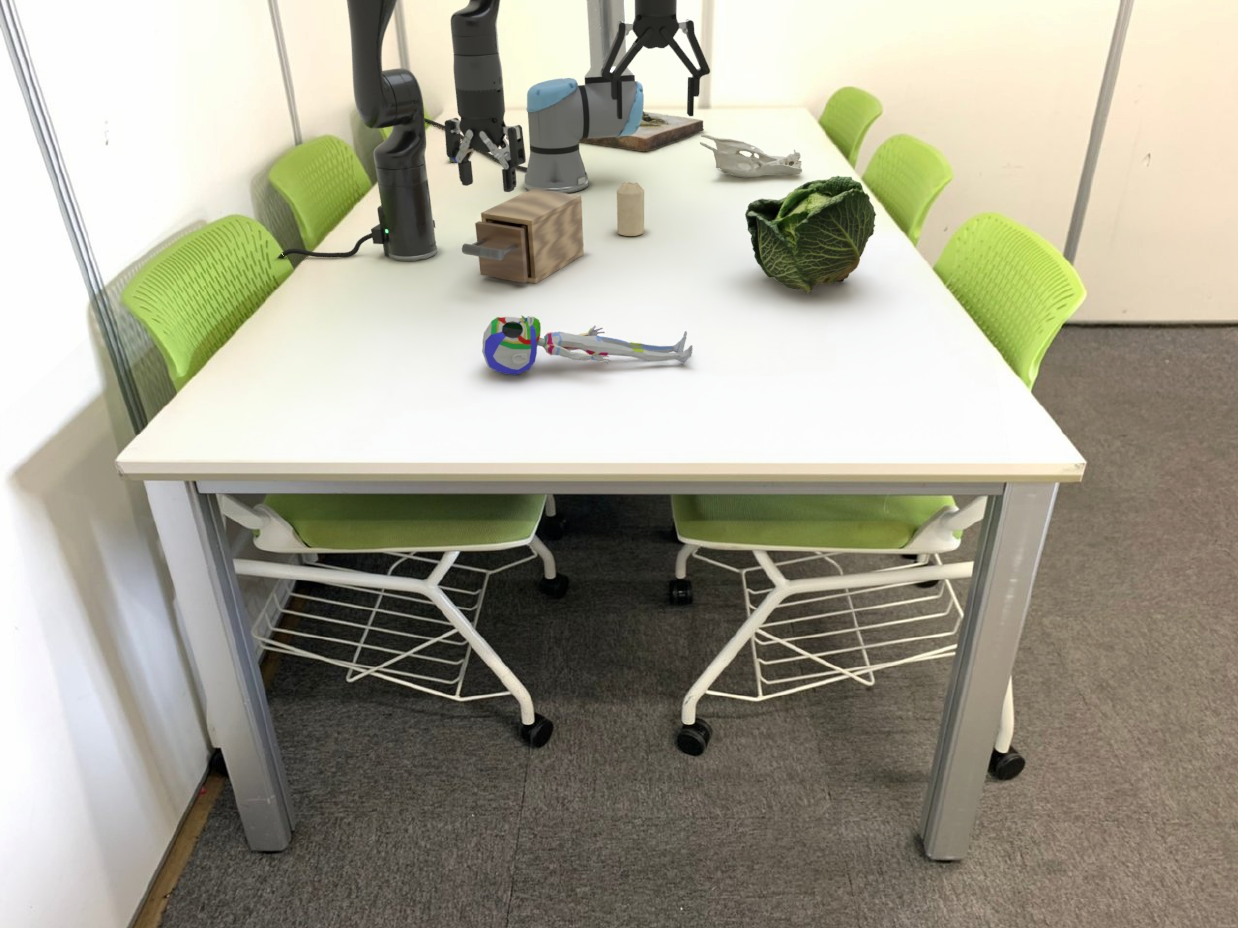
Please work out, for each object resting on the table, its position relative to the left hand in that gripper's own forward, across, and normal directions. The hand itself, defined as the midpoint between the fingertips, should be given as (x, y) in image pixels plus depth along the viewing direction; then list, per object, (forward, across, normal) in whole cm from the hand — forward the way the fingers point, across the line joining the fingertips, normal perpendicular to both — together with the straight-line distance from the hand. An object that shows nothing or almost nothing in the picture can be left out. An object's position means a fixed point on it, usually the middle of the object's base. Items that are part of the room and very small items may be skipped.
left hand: (488, 187), depth 150 cm
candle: (+18, +7, +38) cm, 42 cm away
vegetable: (+18, +48, +26) cm, 58 cm away
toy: (+18, +30, -20) cm, 40 cm away
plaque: (+18, -34, +116) cm, 122 cm away
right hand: (-5, +12, +39) cm, 41 cm away
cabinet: (+18, 0, +13) cm, 22 cm away
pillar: (+18, -66, +78) cm, 104 cm away
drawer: (+17, 0, +7) cm, 18 cm away
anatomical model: (+18, +12, +90) cm, 93 cm away
